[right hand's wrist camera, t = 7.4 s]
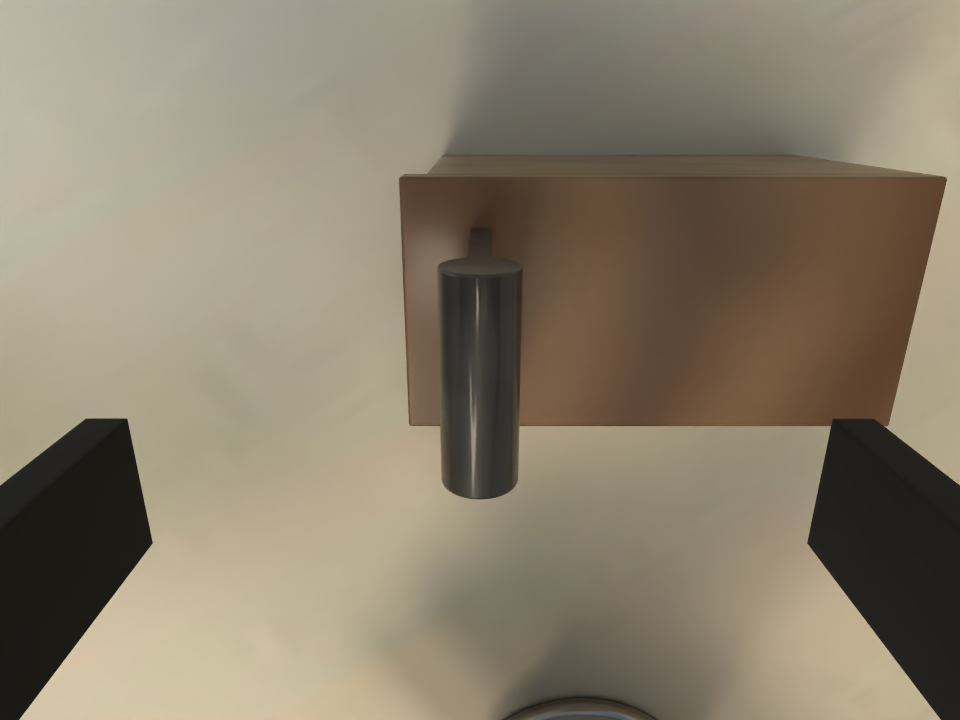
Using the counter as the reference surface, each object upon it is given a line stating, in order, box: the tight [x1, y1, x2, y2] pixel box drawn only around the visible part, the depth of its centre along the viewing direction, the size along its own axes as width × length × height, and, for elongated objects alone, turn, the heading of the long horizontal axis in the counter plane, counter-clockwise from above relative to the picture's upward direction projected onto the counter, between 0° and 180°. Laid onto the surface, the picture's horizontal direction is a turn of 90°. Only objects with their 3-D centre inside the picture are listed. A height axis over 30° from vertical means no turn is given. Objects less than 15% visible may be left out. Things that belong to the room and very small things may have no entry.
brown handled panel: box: [399, 174, 947, 499], centre depth 21 cm, size 18×9×9 cm, turn 90°
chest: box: [428, 155, 922, 174], centre depth 30 cm, size 17×9×10 cm, turn 90°
